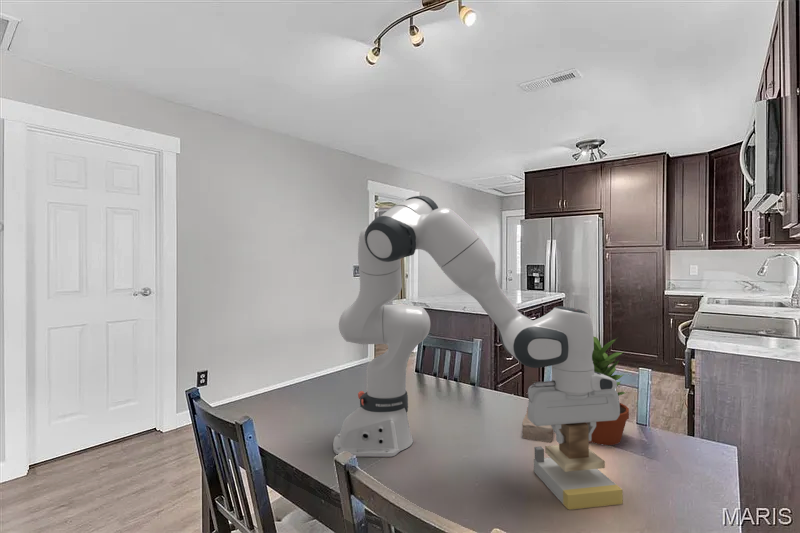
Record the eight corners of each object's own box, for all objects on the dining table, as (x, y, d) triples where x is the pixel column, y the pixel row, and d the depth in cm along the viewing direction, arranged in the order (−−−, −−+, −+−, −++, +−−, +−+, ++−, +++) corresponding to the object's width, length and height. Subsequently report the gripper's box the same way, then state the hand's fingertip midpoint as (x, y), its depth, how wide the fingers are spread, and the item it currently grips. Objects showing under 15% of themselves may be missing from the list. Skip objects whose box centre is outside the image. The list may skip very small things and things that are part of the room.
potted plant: (644, 443, 116) (642, 333, 116) (598, 452, 112) (596, 338, 111) (603, 423, 130) (602, 325, 130) (561, 430, 126) (559, 329, 126)
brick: (552, 443, 118) (552, 426, 118) (521, 439, 122) (521, 423, 121) (555, 422, 134) (555, 407, 133) (527, 419, 137) (527, 404, 137)
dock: (568, 509, 87) (567, 480, 87) (533, 471, 103) (533, 446, 103) (622, 503, 89) (622, 475, 88) (580, 466, 104) (580, 442, 104)
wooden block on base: (565, 471, 90) (564, 431, 90) (545, 452, 99) (544, 416, 99) (604, 468, 91) (604, 428, 91) (581, 449, 100) (581, 413, 100)
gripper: (534, 386, 91) (535, 451, 91) (623, 380, 93) (624, 444, 93) (522, 378, 97) (523, 439, 97) (606, 373, 99) (607, 432, 100)
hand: (573, 441), depth 95 cm, fingers closed on wooden block on base, 4 cm apart
